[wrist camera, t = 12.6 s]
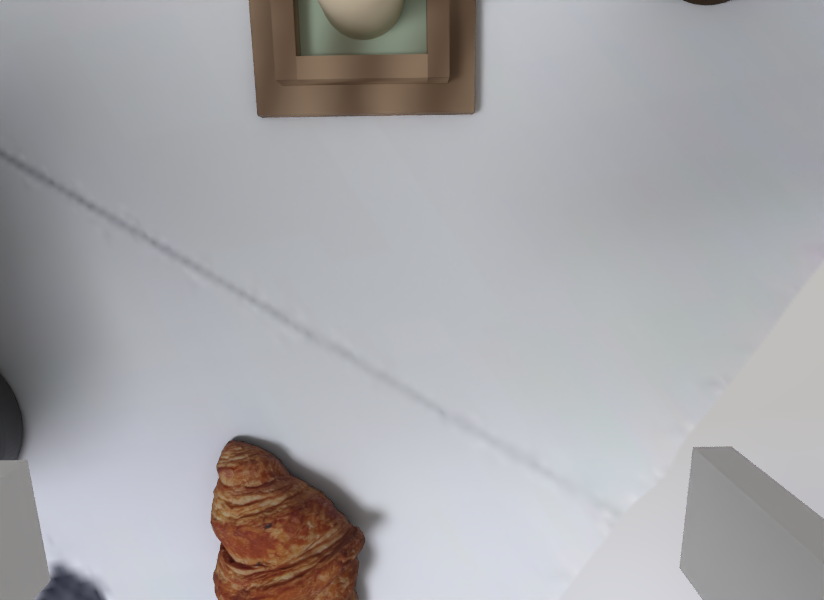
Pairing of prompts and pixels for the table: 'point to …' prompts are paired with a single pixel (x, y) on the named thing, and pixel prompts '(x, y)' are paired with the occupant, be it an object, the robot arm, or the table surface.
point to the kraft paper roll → (362, 16)
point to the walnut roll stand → (363, 62)
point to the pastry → (278, 533)
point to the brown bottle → (706, 2)
